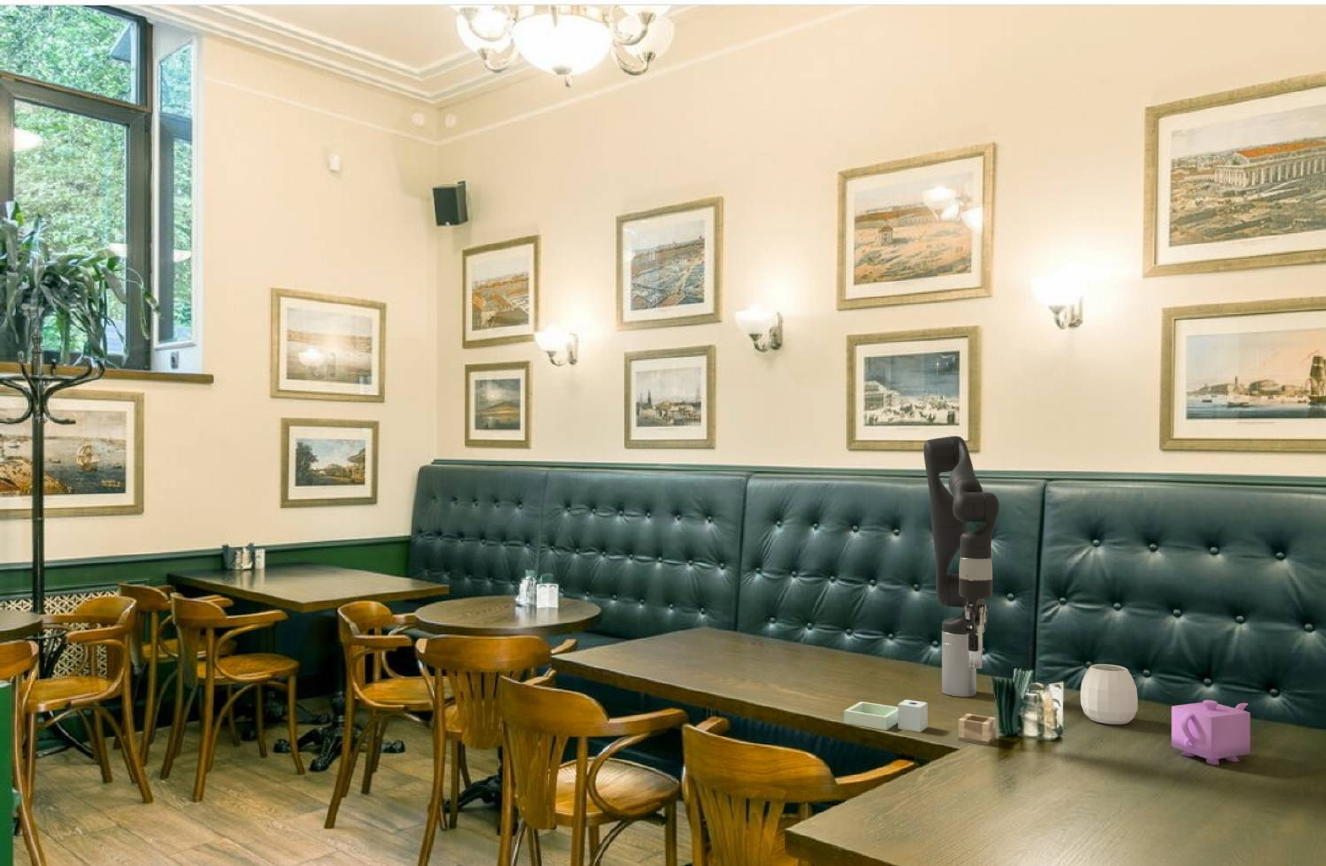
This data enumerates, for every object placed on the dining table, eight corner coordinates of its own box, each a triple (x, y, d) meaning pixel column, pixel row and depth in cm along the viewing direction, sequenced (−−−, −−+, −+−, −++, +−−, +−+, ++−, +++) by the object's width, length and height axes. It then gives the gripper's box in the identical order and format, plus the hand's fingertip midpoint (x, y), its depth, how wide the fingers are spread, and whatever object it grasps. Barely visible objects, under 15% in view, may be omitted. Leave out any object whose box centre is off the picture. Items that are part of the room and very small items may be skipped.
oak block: (967, 734, 239) (967, 713, 240) (995, 738, 236) (995, 717, 236) (958, 741, 234) (958, 719, 234) (988, 745, 230) (988, 724, 230)
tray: (860, 713, 257) (861, 701, 257) (902, 720, 251) (902, 707, 251) (844, 723, 248) (844, 710, 248) (886, 730, 242) (886, 717, 242)
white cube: (905, 723, 248) (905, 699, 248) (927, 727, 245) (927, 702, 245) (898, 728, 244) (898, 703, 244) (919, 732, 241) (920, 707, 241)
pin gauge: (971, 665, 237) (971, 614, 237) (983, 666, 236) (983, 615, 236) (967, 667, 235) (967, 616, 235) (980, 669, 233) (980, 617, 233)
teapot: (1202, 768, 214) (1202, 709, 214) (1163, 754, 224) (1163, 698, 224) (1268, 758, 222) (1268, 701, 222) (1227, 745, 231) (1227, 691, 231)
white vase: (1137, 717, 255) (1137, 665, 255) (1138, 730, 243) (1138, 675, 243) (1081, 711, 260) (1081, 660, 260) (1079, 724, 248) (1079, 670, 248)
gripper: (968, 572, 243) (968, 643, 243) (950, 578, 232) (950, 652, 231) (999, 574, 239) (1000, 646, 239) (983, 581, 228) (983, 656, 227)
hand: (975, 649), depth 235 cm, fingers closed on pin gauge, 3 cm apart
